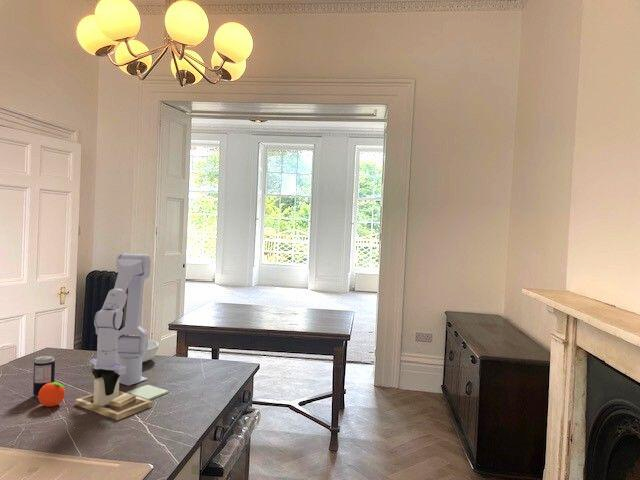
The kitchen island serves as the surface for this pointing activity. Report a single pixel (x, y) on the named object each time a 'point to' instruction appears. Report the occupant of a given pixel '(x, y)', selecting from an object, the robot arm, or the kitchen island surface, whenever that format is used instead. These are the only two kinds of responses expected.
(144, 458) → the kitchen island surface
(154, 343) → the serving bowl
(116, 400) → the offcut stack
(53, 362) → the beverage can
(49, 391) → the clementine
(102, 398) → the cream rectangular block
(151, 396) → the sage mat
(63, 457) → the kitchen island surface
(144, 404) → the wooden rectangular frame
